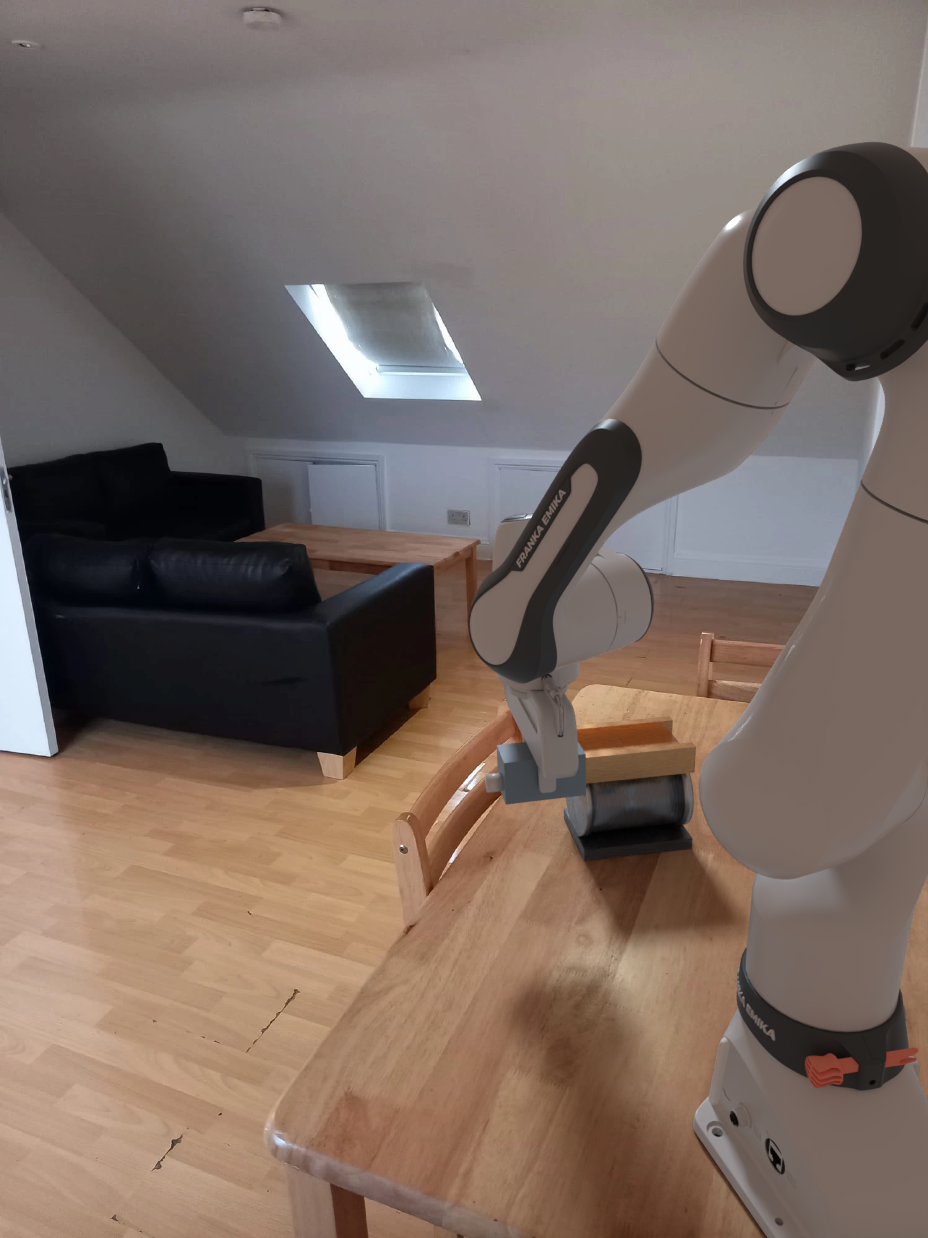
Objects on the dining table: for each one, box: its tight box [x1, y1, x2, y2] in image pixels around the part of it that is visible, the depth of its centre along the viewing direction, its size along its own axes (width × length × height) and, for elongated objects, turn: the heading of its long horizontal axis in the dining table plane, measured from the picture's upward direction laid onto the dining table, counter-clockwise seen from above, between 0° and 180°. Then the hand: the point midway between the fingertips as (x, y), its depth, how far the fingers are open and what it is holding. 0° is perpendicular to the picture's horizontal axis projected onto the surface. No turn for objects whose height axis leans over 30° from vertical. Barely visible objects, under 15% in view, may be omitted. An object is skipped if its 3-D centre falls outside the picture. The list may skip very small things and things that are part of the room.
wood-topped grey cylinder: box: [563, 716, 697, 862], centre depth 109 cm, size 10×14×14 cm
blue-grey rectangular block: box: [484, 741, 586, 805], centre depth 94 cm, size 4×11×5 cm, turn 98°
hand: (540, 776), depth 95 cm, fingers closed on blue-grey rectangular block, 4 cm apart
